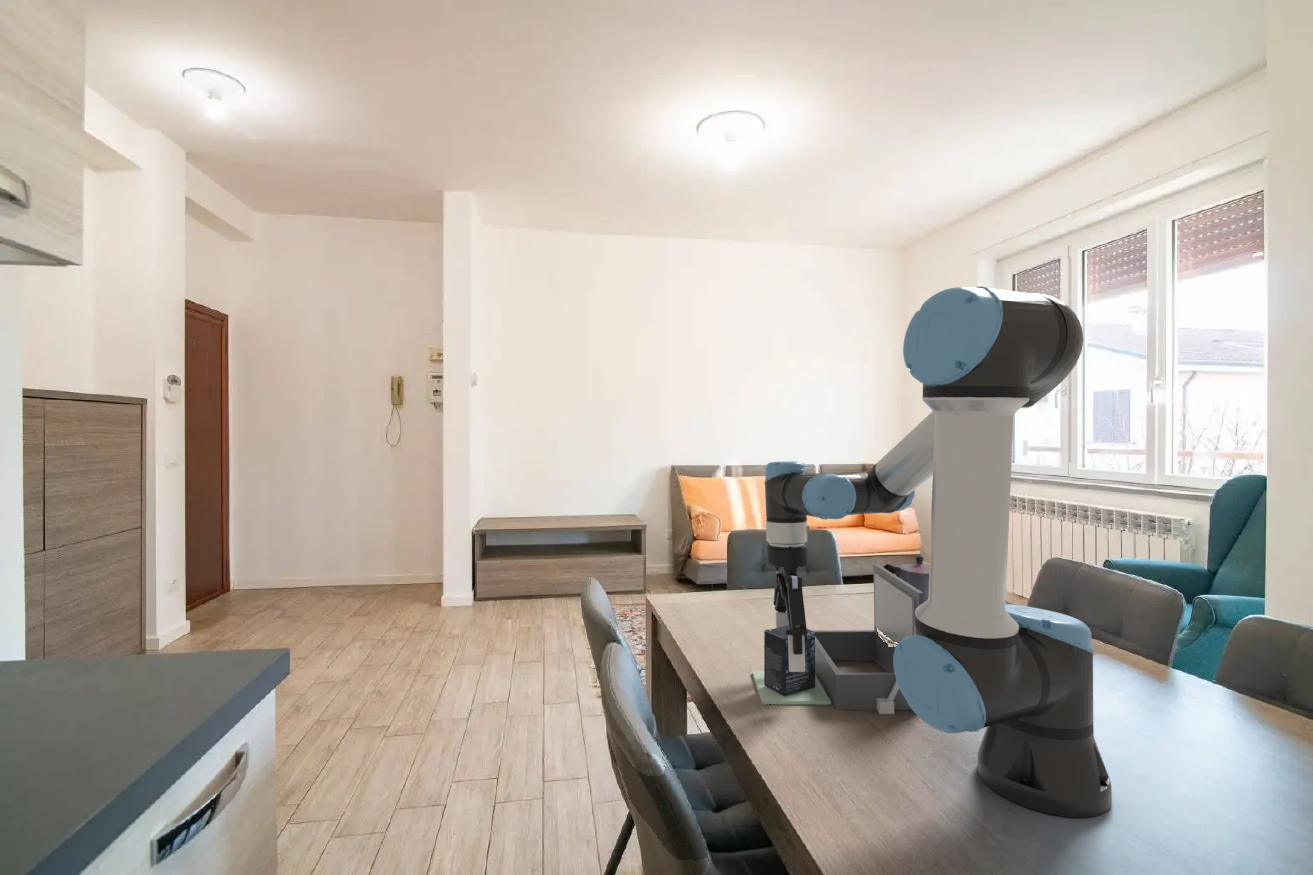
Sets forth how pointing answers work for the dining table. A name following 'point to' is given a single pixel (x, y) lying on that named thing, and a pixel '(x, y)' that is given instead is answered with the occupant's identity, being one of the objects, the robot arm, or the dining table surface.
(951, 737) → the dining table surface
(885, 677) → the case
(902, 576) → the moka pot
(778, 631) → the box
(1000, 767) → the robot arm
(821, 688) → the pad
